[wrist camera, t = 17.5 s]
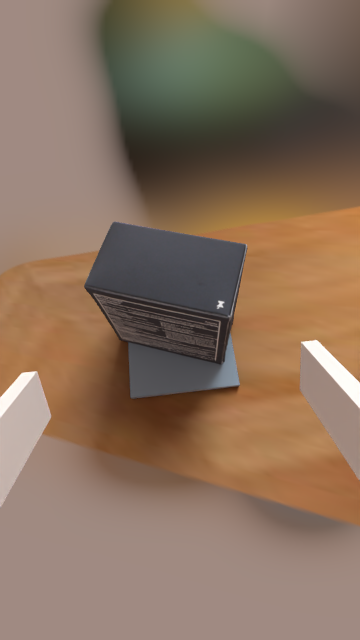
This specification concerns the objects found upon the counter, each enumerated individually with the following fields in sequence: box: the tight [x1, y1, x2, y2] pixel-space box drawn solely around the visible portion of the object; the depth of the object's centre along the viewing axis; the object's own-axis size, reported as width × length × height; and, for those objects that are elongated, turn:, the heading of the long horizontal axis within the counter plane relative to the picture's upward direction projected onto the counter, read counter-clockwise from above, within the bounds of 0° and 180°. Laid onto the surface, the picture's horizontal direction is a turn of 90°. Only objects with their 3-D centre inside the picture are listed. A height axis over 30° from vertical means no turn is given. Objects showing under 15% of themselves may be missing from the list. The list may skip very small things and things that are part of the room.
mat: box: [128, 334, 240, 399], centre depth 32 cm, size 10×13×1 cm
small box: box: [84, 222, 247, 365], centre depth 27 cm, size 11×6×10 cm, turn 75°
